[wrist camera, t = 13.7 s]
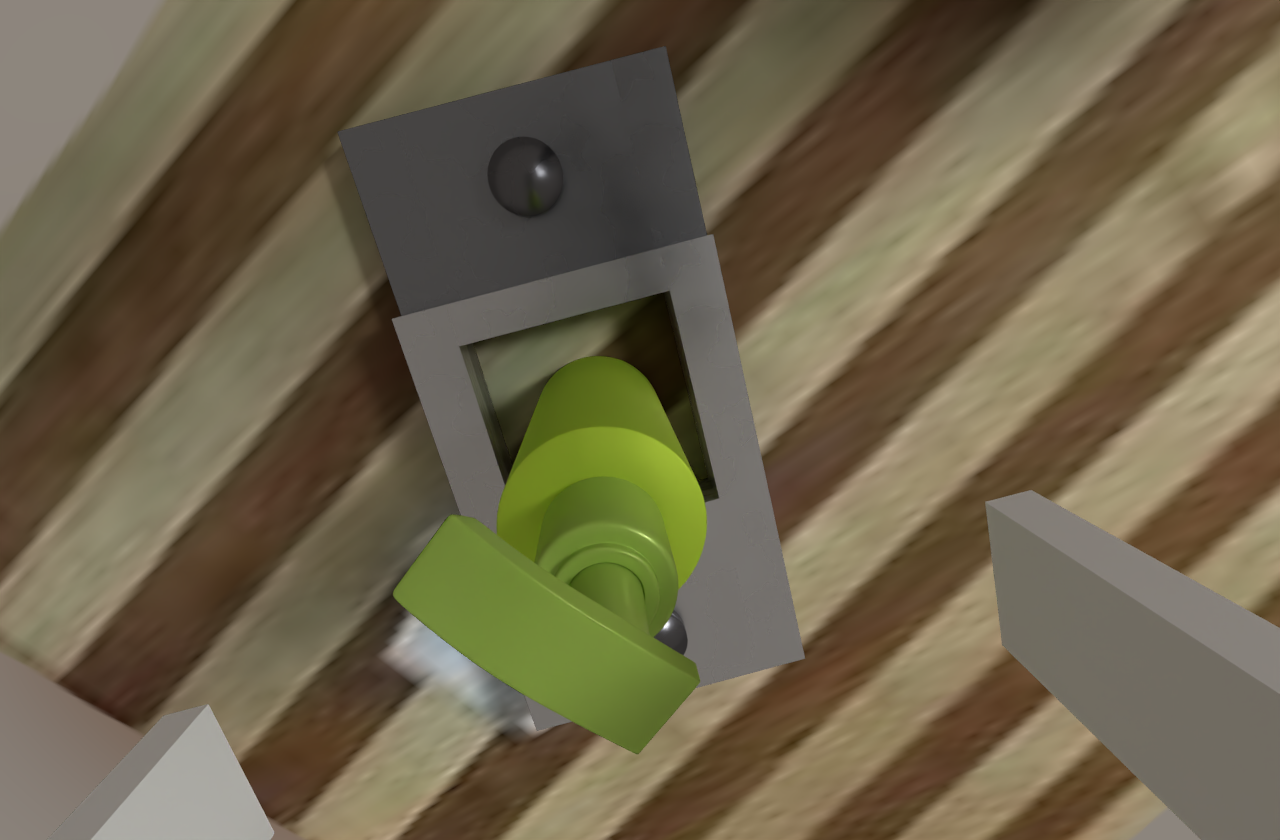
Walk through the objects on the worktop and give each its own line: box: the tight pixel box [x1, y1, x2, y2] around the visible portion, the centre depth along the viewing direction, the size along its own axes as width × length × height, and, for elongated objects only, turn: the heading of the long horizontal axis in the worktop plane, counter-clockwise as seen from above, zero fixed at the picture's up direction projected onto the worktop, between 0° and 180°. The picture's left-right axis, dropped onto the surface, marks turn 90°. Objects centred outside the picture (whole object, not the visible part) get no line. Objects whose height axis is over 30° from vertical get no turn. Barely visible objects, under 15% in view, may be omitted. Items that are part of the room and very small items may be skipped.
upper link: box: [392, 234, 805, 731], centre depth 30 cm, size 20×14×4 cm, turn 14°
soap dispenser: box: [393, 356, 707, 754], centre depth 21 cm, size 6×7×20 cm
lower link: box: [338, 46, 714, 491], centre depth 28 cm, size 20×14×2 cm, turn 14°
